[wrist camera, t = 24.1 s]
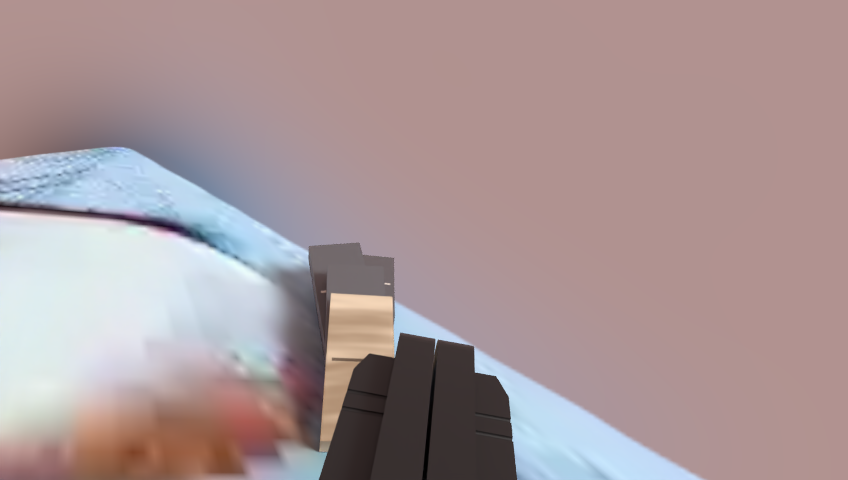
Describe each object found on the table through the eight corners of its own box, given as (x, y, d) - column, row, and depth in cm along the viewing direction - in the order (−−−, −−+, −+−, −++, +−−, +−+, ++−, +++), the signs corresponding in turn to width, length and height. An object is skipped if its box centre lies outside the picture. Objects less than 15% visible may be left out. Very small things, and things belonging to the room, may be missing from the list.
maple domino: (396, 441, 34) (392, 296, 42) (320, 440, 33) (331, 293, 41) (392, 452, 35) (389, 309, 44) (319, 452, 35) (329, 306, 43)
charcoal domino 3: (394, 317, 48) (393, 257, 59) (340, 312, 47) (349, 253, 58) (392, 333, 49) (391, 271, 59) (339, 329, 48) (348, 267, 59)
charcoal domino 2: (392, 387, 39) (383, 266, 47) (325, 389, 38) (327, 264, 46) (389, 399, 40) (380, 278, 48) (324, 400, 39) (326, 277, 47)
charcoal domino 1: (385, 339, 44) (359, 242, 52) (325, 347, 42) (308, 246, 50) (382, 352, 45) (357, 255, 53) (324, 360, 43) (308, 259, 51)
